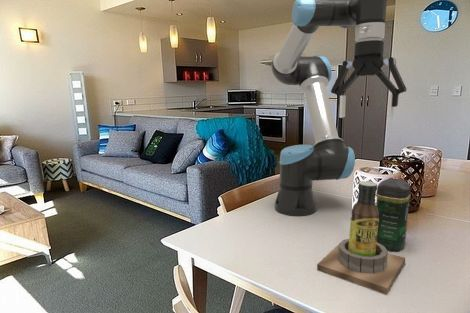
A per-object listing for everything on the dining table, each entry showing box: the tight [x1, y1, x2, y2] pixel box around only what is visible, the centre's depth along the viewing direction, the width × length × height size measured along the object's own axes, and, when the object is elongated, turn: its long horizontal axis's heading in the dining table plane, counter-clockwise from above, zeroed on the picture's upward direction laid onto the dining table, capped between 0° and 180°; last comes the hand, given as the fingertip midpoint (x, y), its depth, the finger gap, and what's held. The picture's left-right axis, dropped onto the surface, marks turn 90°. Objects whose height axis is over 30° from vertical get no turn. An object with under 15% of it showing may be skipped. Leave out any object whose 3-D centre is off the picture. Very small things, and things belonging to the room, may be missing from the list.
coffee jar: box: [375, 177, 411, 251], centre depth 90 cm, size 10×8×19 cm
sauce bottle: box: [348, 180, 379, 257], centre depth 78 cm, size 6×6×20 cm
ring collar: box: [316, 238, 406, 295], centre depth 80 cm, size 16×16×5 cm
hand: (364, 118), depth 94 cm, fingers open, 13 cm apart
